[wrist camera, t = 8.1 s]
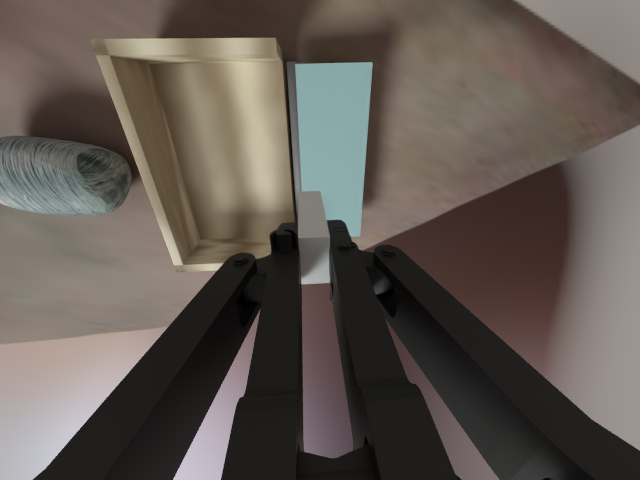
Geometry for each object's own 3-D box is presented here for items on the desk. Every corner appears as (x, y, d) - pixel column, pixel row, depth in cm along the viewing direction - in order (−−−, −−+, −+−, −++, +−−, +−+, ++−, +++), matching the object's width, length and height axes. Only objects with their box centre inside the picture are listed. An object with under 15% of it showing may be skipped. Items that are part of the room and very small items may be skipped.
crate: (202, 235, 38) (176, 272, 30) (152, 55, 27) (89, 39, 19) (296, 232, 38) (294, 266, 31) (283, 54, 27) (275, 37, 20)
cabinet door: (297, 237, 35) (359, 238, 34) (285, 61, 25) (373, 59, 24) (298, 233, 36) (359, 233, 35) (287, 62, 26) (371, 61, 26)
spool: (122, 130, 27) (42, 193, 22) (159, 192, 35) (107, 249, 30) (11, 99, 28) (-94, 152, 23) (71, 166, 36) (5, 218, 30)
